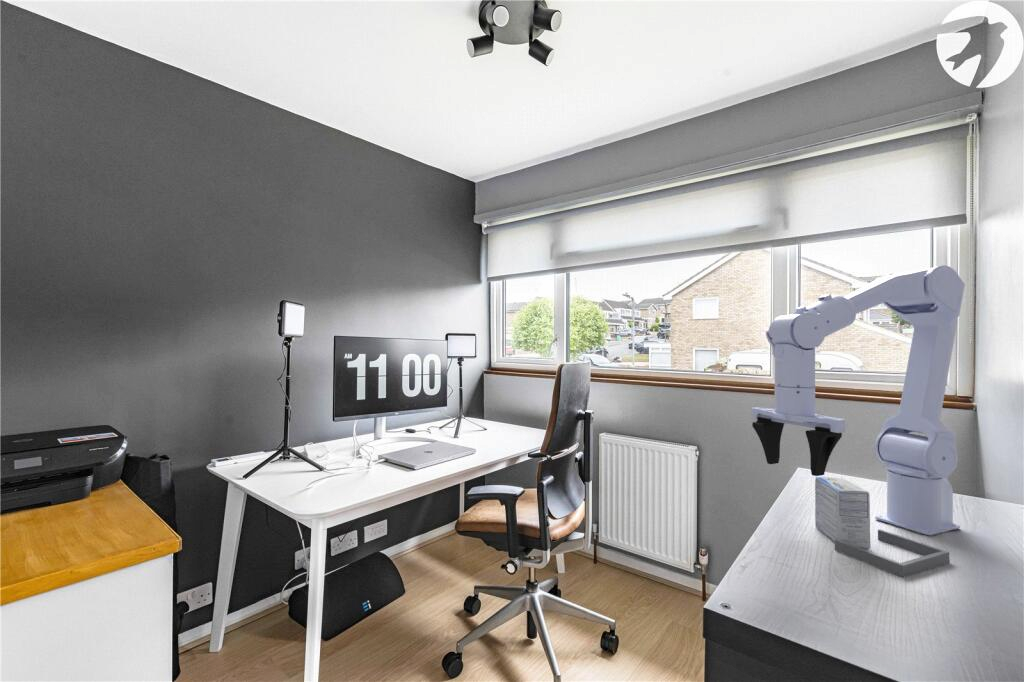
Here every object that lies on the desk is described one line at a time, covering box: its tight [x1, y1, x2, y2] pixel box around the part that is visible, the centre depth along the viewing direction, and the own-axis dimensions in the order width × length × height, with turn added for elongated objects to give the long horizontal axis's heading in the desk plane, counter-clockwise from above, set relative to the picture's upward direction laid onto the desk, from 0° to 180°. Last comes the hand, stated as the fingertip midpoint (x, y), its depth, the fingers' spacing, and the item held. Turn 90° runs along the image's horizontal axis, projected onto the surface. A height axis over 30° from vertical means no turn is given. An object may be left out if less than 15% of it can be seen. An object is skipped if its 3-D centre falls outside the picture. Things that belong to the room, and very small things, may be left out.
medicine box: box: [814, 476, 871, 550], centre depth 72 cm, size 8×4×9 cm, turn 168°
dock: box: [834, 528, 950, 578], centre depth 66 cm, size 11×9×2 cm
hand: (794, 468), depth 75 cm, fingers open, 7 cm apart
